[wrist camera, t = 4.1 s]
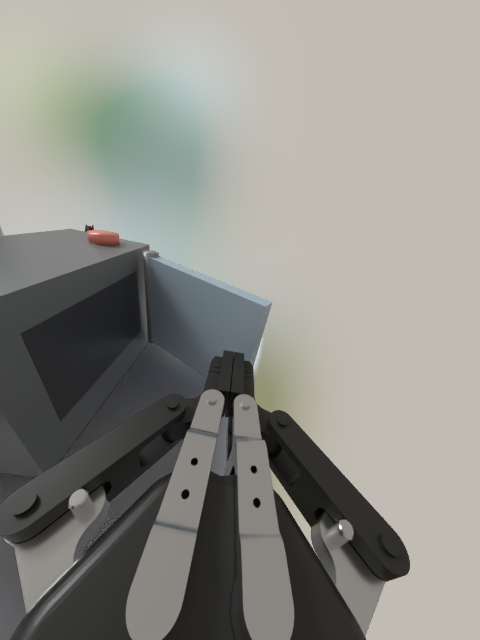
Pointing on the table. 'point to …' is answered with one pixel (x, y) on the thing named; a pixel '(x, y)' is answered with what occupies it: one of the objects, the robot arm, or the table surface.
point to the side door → (200, 314)
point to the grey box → (63, 337)
